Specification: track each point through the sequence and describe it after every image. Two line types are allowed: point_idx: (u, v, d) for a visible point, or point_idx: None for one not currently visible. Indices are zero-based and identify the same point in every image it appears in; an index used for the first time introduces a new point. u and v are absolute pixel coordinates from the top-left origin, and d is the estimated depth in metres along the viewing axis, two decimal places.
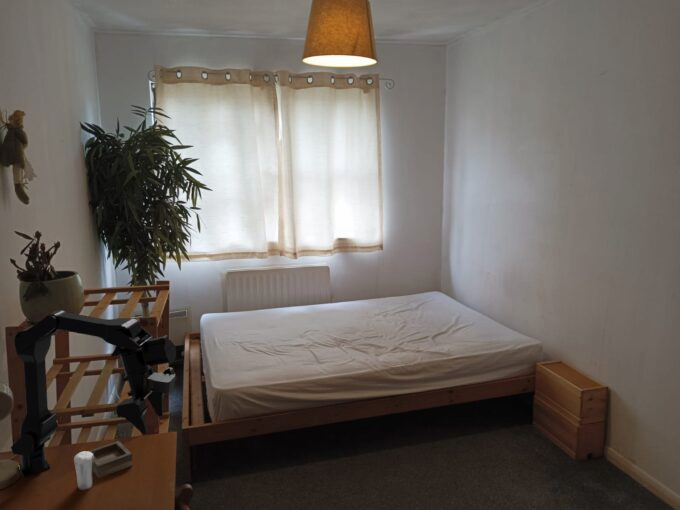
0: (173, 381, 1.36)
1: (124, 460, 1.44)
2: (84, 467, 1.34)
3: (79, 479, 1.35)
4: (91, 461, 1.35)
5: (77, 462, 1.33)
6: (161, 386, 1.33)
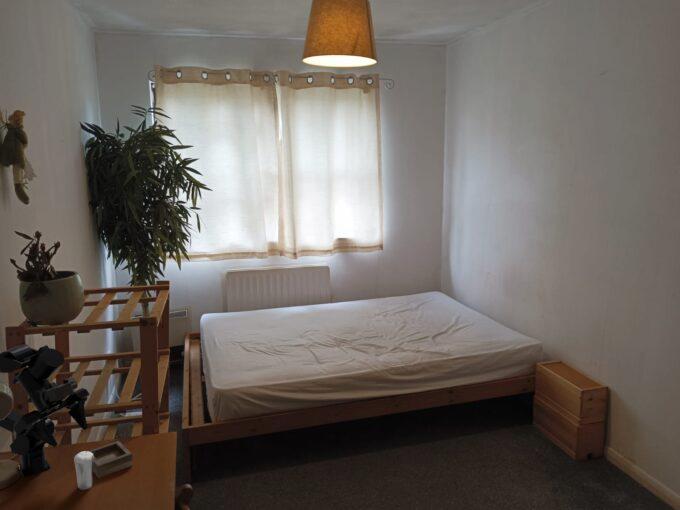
0: (68, 387, 1.35)
1: (124, 460, 1.44)
2: (84, 467, 1.34)
3: (79, 479, 1.35)
4: (91, 461, 1.35)
5: (77, 462, 1.33)
6: (53, 394, 1.33)
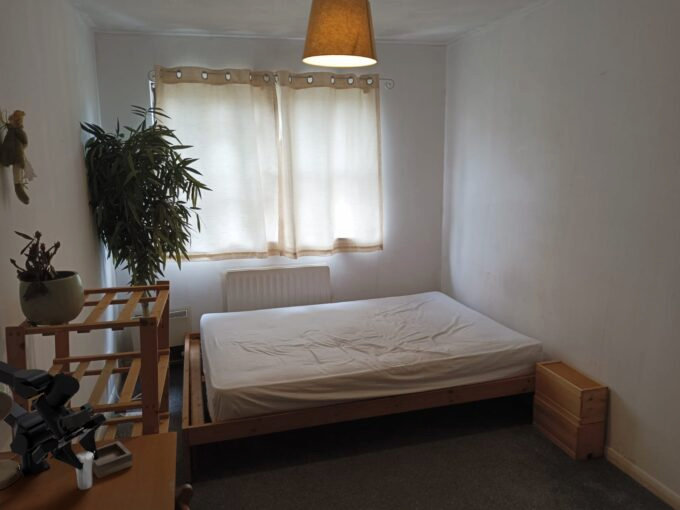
0: (85, 413, 1.34)
1: (124, 460, 1.44)
2: (84, 467, 1.34)
3: (79, 479, 1.35)
4: (91, 461, 1.35)
5: None
6: (70, 421, 1.32)
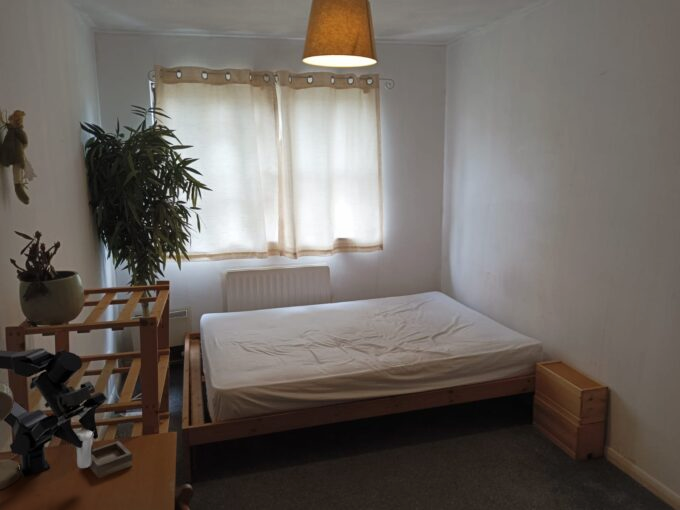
0: (85, 391, 1.33)
1: (124, 460, 1.44)
2: (84, 445, 1.33)
3: (78, 457, 1.34)
4: (91, 439, 1.34)
5: None
6: (70, 399, 1.31)
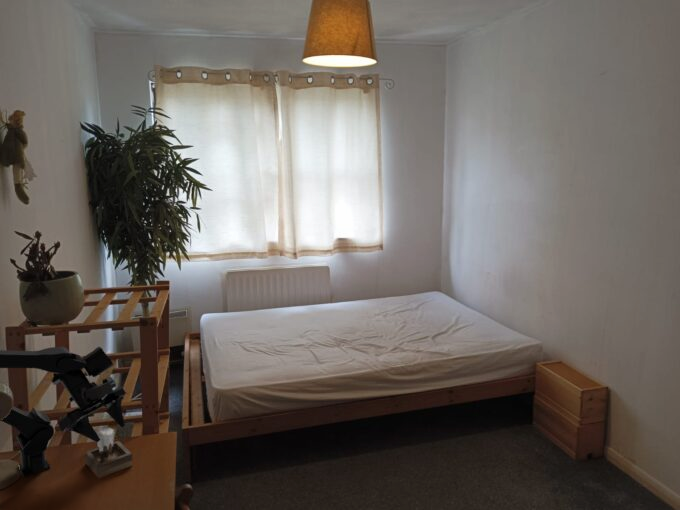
0: (108, 386, 1.43)
1: (124, 460, 1.44)
2: (105, 442, 1.43)
3: (100, 453, 1.44)
4: (112, 436, 1.44)
5: (99, 437, 1.42)
6: (94, 393, 1.41)
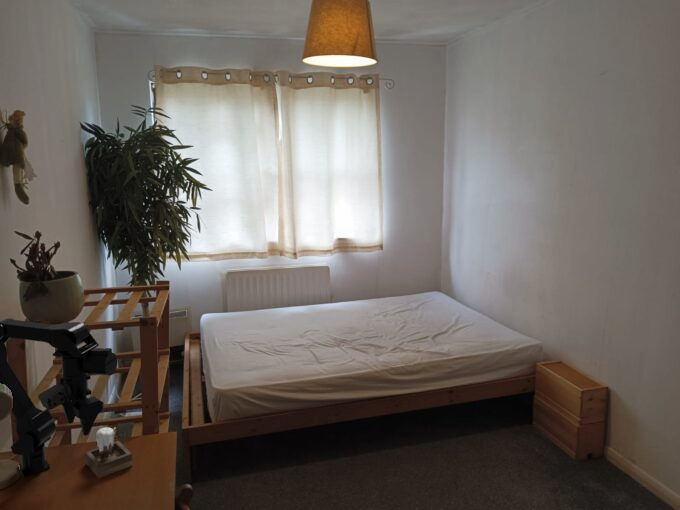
0: (43, 402, 1.31)
1: (124, 460, 1.44)
2: (105, 442, 1.43)
3: (100, 453, 1.44)
4: (112, 436, 1.44)
5: (99, 436, 1.42)
6: None
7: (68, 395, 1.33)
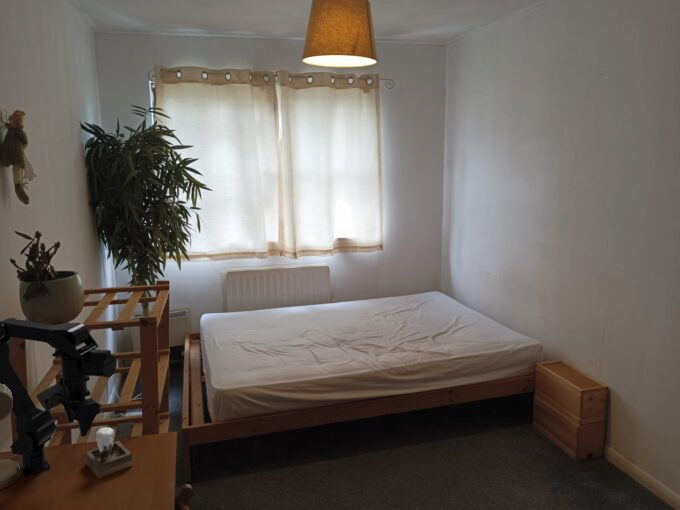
0: (41, 403, 1.31)
1: (124, 460, 1.44)
2: (105, 442, 1.43)
3: (100, 453, 1.44)
4: (112, 436, 1.44)
5: (99, 436, 1.42)
6: None
7: (66, 396, 1.33)
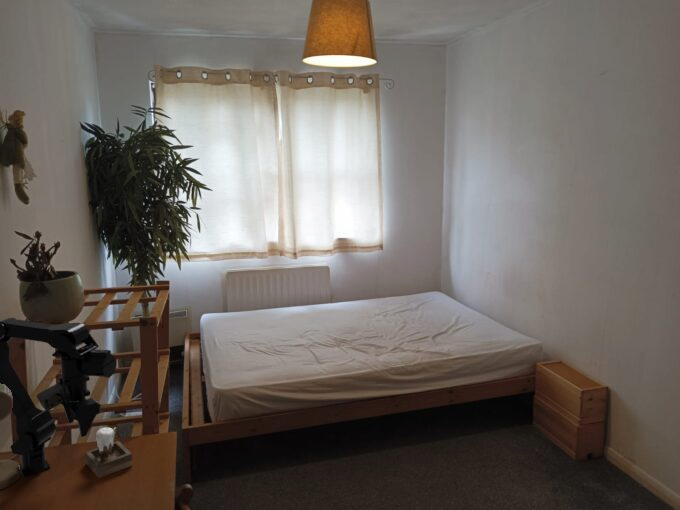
0: (41, 403, 1.31)
1: (124, 460, 1.44)
2: (105, 442, 1.43)
3: (100, 453, 1.44)
4: (112, 436, 1.44)
5: (99, 436, 1.42)
6: None
7: (66, 396, 1.33)
